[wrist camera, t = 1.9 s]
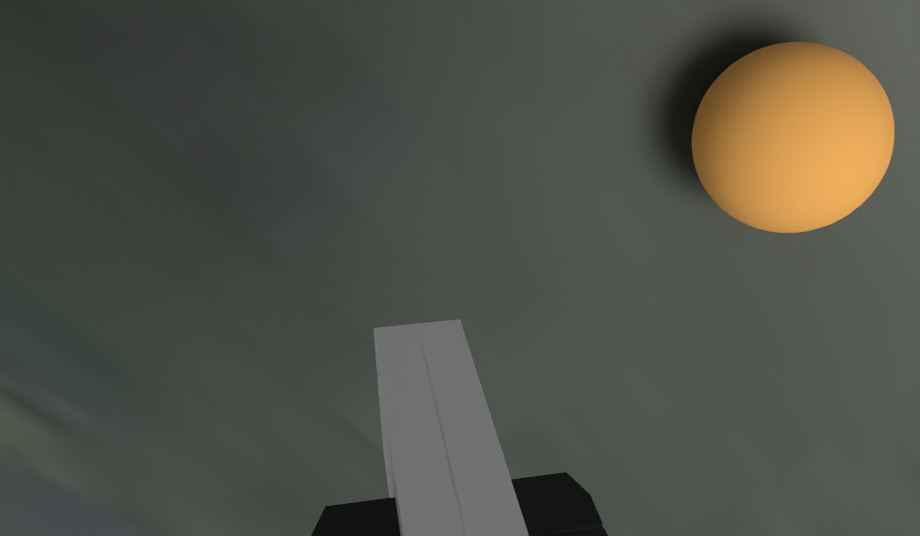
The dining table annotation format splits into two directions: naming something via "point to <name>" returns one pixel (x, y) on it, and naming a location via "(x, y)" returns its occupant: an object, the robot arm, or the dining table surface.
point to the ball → (793, 137)
